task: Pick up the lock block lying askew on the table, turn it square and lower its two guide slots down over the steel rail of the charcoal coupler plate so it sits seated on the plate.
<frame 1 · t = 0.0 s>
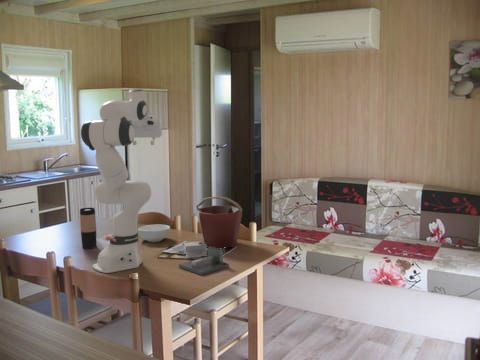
hand: (143, 144, 280), 52 cm above the table, tool tilted 20°, fingers open, 8 cm apart
lock block: (195, 255, 262), on the table
coupler plate: (203, 267, 244), on the table
bucket: (220, 244, 282), on the table
travel mug: (89, 247, 280), on the table
cereal bowl: (154, 240, 291), on the table
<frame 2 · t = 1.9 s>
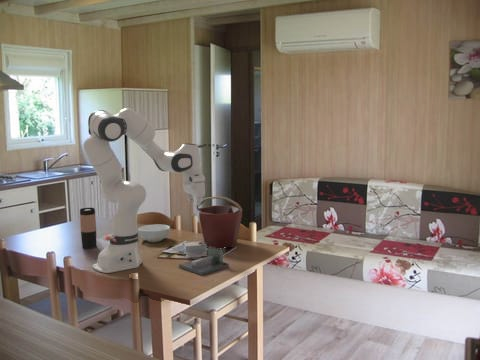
hand: (194, 203, 265), 24 cm above the table, tool pointing down, fingers open, 8 cm apart
nothing on the table moved.
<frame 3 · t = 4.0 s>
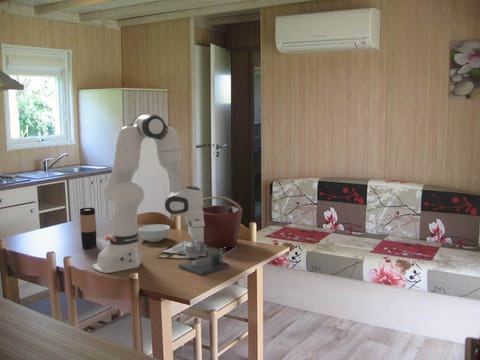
hand: (195, 247, 263), 4 cm above the table, tool pointing down, fingers open, 8 cm apart
nothing on the table moved.
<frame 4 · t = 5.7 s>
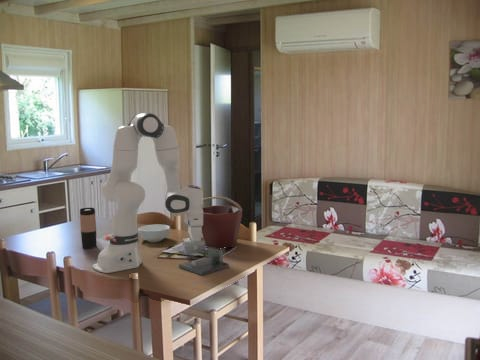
hand: (194, 247, 260), 5 cm above the table, tool pointing down, fingers closed on lock block, 6 cm apart
lock block: (194, 251, 261), point 2 cm above the table, touching gripper
everything else where it was.
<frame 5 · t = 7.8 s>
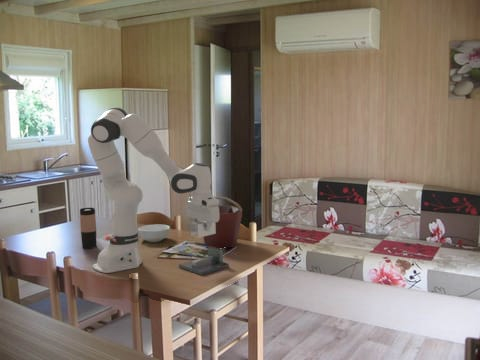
hand: (202, 229, 243), 17 cm above the table, tool pointing down, fingers closed on lock block, 6 cm apart
lock block: (202, 234, 244), point 15 cm above the table, touching gripper
everything else where it was.
when the fingers open (5 cm above the table, at t = 10.6 s): lock block stays where it is, resting on coupler plate.
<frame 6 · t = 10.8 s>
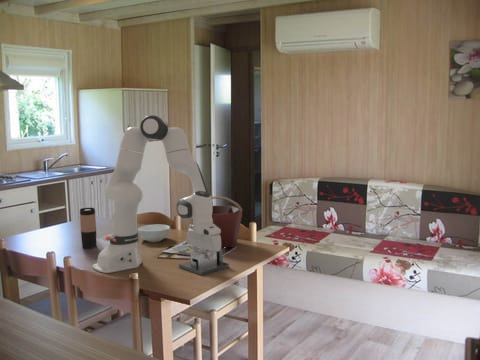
hand: (203, 257, 243), 5 cm above the table, tool pointing down, fingers open, 8 cm apart
lock block: (203, 264, 244), point 1 cm above the table, touching coupler plate
everything else where it was.
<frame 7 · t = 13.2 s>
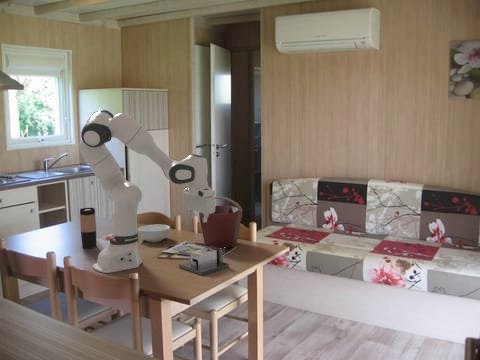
hand: (197, 220, 245), 21 cm above the table, tool pointing down, fingers open, 8 cm apart
nothing on the table moved.
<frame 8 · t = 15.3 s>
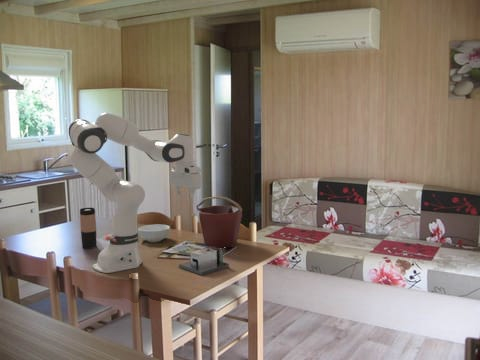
hand: (185, 196, 259), 29 cm above the table, tool pointing down, fingers open, 8 cm apart
nothing on the table moved.
at the end: lock block 0.1 cm off-centre on the coupler plate, point 1.5 cm above the coupler plate's base; lock block tilted 0°; the gripper is holding nothing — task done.
